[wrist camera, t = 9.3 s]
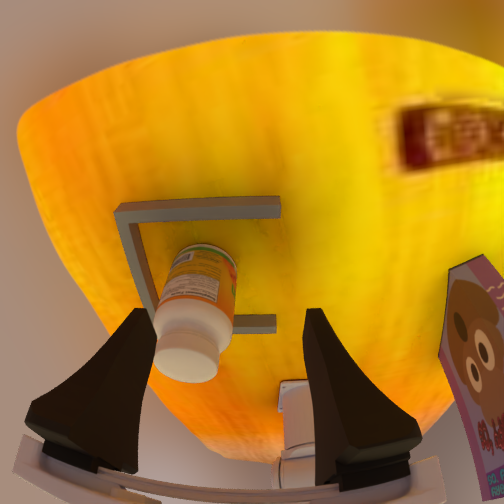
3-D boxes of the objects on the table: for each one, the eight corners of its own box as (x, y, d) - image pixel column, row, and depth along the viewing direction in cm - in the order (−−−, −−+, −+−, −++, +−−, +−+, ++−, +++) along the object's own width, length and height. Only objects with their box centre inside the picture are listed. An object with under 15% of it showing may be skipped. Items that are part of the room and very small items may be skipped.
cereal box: (448, 269, 24) (547, 486, 4) (482, 253, 23) (588, 448, 3) (437, 356, 33) (482, 502, 13) (464, 343, 32) (514, 483, 12)
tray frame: (275, 321, 28) (276, 333, 26) (156, 320, 28) (153, 331, 27) (279, 195, 20) (280, 205, 19) (121, 203, 21) (113, 212, 19)
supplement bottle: (230, 298, 26) (221, 394, 18) (171, 285, 25) (143, 378, 17) (244, 249, 23) (238, 352, 15) (177, 235, 22) (140, 331, 14)
